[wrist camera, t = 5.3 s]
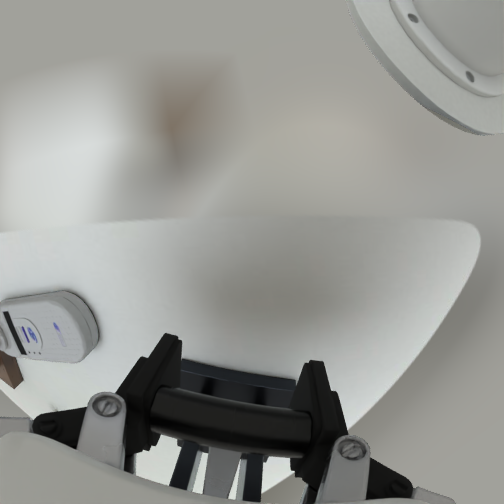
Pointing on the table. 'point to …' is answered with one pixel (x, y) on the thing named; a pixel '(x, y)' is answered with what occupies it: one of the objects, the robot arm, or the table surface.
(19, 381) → the button housing
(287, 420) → the lever
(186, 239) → the table surface
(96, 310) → the table surface
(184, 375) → the bracket
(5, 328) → the electronic device
